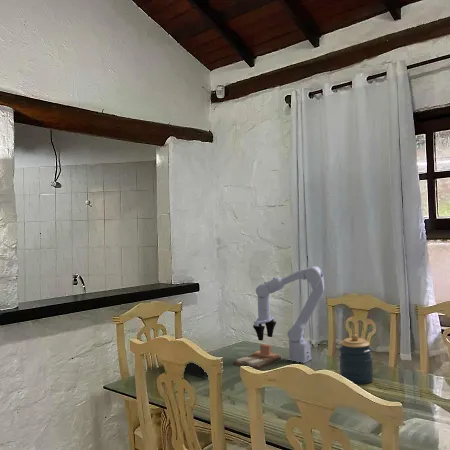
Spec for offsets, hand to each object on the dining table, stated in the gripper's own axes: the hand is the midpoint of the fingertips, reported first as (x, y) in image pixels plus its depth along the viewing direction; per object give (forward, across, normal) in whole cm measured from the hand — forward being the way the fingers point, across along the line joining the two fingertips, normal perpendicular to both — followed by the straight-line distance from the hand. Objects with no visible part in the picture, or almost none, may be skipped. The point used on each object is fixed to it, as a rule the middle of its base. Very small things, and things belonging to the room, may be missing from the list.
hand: (265, 338), depth 215 cm
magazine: (+9, +35, -18) cm, 40 cm away
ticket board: (+9, +7, 0) cm, 11 cm away
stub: (+8, 0, 0) cm, 8 cm away
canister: (+10, +5, +47) cm, 48 cm away
